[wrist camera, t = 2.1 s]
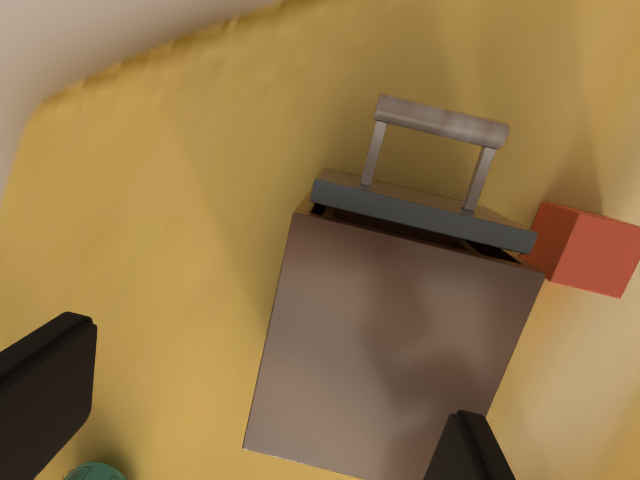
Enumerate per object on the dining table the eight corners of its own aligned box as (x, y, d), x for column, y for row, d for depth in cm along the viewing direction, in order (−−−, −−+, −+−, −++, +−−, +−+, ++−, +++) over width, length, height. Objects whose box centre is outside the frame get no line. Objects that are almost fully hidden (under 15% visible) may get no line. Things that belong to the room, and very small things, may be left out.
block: (604, 216, 26) (654, 230, 22) (578, 274, 28) (620, 299, 23) (541, 200, 26) (579, 212, 22) (518, 259, 28) (549, 281, 23)
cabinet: (311, 187, 27) (292, 211, 18) (479, 228, 27) (547, 273, 18) (273, 357, 31) (241, 449, 22) (420, 394, 31) (450, 501, 22)
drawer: (341, 94, 25) (338, 74, 17) (509, 134, 25) (580, 132, 17) (285, 335, 30) (263, 402, 22) (425, 370, 30) (451, 449, 22)
